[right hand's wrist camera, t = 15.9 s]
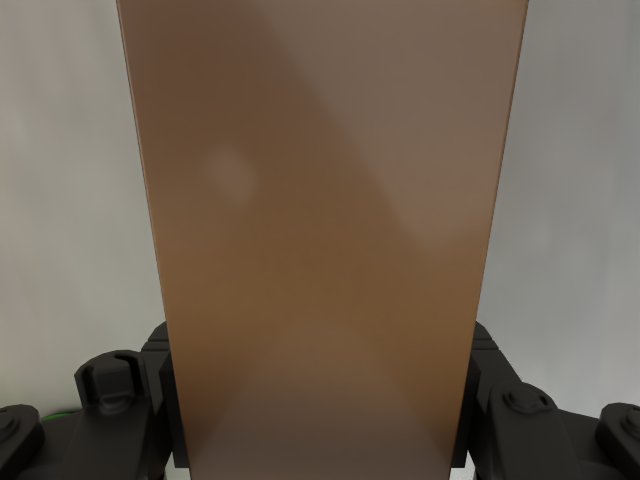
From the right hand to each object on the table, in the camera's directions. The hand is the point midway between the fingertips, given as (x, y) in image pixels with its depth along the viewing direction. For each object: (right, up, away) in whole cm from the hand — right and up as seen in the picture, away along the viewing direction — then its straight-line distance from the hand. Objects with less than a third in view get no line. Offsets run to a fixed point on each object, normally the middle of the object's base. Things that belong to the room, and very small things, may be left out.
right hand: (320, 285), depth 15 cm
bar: (0, +18, -6) cm, 20 cm away
